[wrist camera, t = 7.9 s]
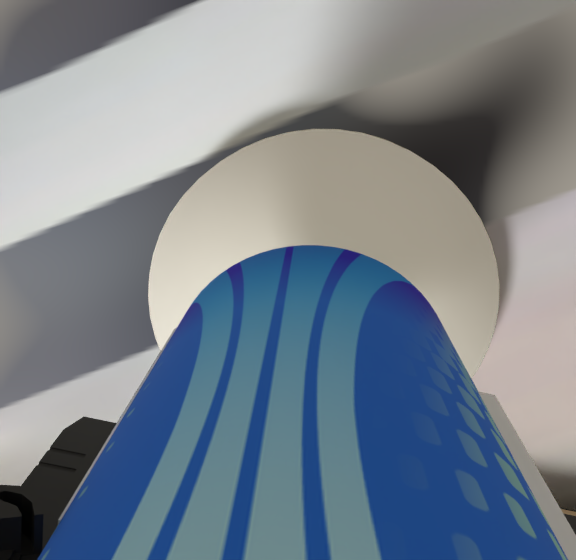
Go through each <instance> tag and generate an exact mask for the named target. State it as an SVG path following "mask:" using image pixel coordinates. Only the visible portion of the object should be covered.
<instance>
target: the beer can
mask: <svg viewBox="0 0 576 560" xmlns="http://www.w3.org/2000/svg"><path fill="white" fill-rule="evenodd" d="M37 560H568V559H567V557H566V555H565V553H564V551H563V549H562V547H561V545H560V544H559V542H558V540H557V538H556V536H555V534H554V532H553V531H552V529H551V527H550V525H549V523H548V521H547V519H546V517H545V516H544V514H543V512H542V510H541V508H540V506H539V504H538V503H537V501H536V499H535V497H534V495H533V493H532V491H531V489H530V488H529V486H528V484H527V482H526V480H525V478H524V476H523V474H522V473H521V471H520V469H519V467H518V465H517V463H516V461H515V460H514V458H513V456H512V454H511V452H510V450H509V448H508V446H507V445H506V443H505V441H504V439H503V437H502V435H501V433H500V432H499V430H498V428H497V426H496V424H495V422H494V420H493V418H492V417H491V415H490V413H489V411H488V409H487V407H486V405H485V403H484V402H483V400H482V398H481V396H480V394H479V392H478V390H477V389H476V387H475V385H474V383H473V381H472V379H471V377H470V375H469V374H468V372H467V370H466V368H465V366H464V364H463V362H462V361H461V359H460V357H459V355H458V353H457V351H456V349H455V347H454V346H453V344H452V342H451V340H450V338H449V336H448V334H447V332H446V331H445V329H444V327H443V325H442V323H441V321H440V319H439V318H438V316H437V314H436V312H435V311H434V309H433V308H432V306H431V305H430V303H429V302H428V301H427V299H426V298H425V297H424V296H423V294H422V293H421V292H420V291H419V290H418V289H417V288H416V287H415V286H414V285H413V284H412V283H411V282H410V281H408V280H407V279H406V278H405V277H403V276H402V275H401V274H400V273H398V272H397V271H395V270H393V269H392V268H390V267H389V266H387V265H385V264H383V263H382V262H380V261H378V260H376V259H374V258H371V257H369V256H366V255H364V254H361V253H358V252H354V251H351V250H348V249H343V248H338V247H332V246H322V245H297V246H287V247H282V248H276V249H272V250H268V251H265V252H262V253H258V254H256V255H254V256H251V257H249V258H246V259H244V260H242V261H240V262H238V263H236V264H235V265H233V266H231V267H230V268H228V269H227V270H225V271H224V272H222V273H221V274H219V275H218V276H217V277H216V278H215V279H213V280H212V281H211V282H210V283H209V284H208V285H207V286H206V287H205V288H204V289H203V290H202V291H201V292H200V293H199V295H198V296H197V297H196V298H195V300H194V301H193V302H192V304H191V306H190V307H189V309H188V310H187V312H186V314H185V315H184V317H183V319H182V320H181V322H180V323H179V325H178V327H177V328H176V330H175V332H174V333H173V335H172V337H171V338H170V340H169V342H168V343H167V345H166V347H165V348H164V350H163V352H162V353H161V355H160V357H159V358H158V360H157V362H156V363H155V365H154V367H153V368H152V370H151V372H150V373H149V375H148V377H147V378H146V380H145V382H144V383H143V385H142V386H141V388H140V390H139V391H138V393H137V395H136V396H135V398H134V400H133V401H132V403H131V405H130V406H129V408H128V410H127V411H126V413H125V415H124V416H123V418H122V420H121V421H120V423H119V425H118V426H117V428H116V430H115V431H114V433H113V435H112V436H111V438H110V440H109V441H108V443H107V445H106V446H105V448H104V449H103V451H102V453H101V454H100V456H99V458H98V459H97V461H96V463H95V464H94V466H93V468H92V469H91V471H90V473H89V474H88V476H87V478H86V479H85V481H84V483H83V484H82V486H81V488H80V489H79V491H78V493H77V494H76V496H75V498H74V499H73V501H72V503H71V504H70V506H69V507H68V509H67V511H66V512H65V514H64V516H63V517H62V519H61V521H60V522H59V524H58V526H57V527H56V529H55V531H54V532H53V534H52V536H51V537H50V539H49V541H48V542H47V544H46V546H45V547H44V549H43V551H42V552H41V554H40V556H39V557H38V559H37Z"/></svg>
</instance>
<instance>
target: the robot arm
mask: <svg viewBox="0 0 576 560" xmlns="http://www.w3.org/2000/svg"><path fill="white" fill-rule="evenodd" d="M175 330H176V328H174V330H173V332H172V333H171V335H170V337H169V338H168V340H167V342H166V343H165V345H164V346H163V348H162V350H161V351H160V353H159V355H158V356H157V358H156V360H155V361H154V363H153V365H152V366H151V368H150V369H149V371H148V373H147V374H146V376H145V378H144V379H143V381H142V383H141V384H140V386H139V388H138V389H137V391H136V393H135V394H134V396H133V397H132V399H131V401H130V402H129V404H128V406H127V407H126V409H125V411H124V412H123V414H122V416H121V417H120V419H119V420H118V422H117V423H112V422H108V421H103V420H98V419H93V418H88V417H83V418H81V419H80V420H78V421H76V422H75V423H73V424H72V425H70V426H69V427H67V428H65V429H64V430H63V431H62V432H61V434H60V435H59V436H58V438H57V439H56V440H55V442H54V443H53V444H52V446H51V447H50V450H49V451H47V452H46V454H45V455H44V456H43V458H42V459H41V460H40V462H39V465H38V466H36V467H35V468H34V470H33V471H32V472H31V474H30V475H29V476H28V477H27V479H26V480H25V481H24V483H23V484H22V485H21V486H11V485H0V560H37V559H38V557H39V556H40V554H41V552H42V551H43V549H44V547H45V546H46V544H47V542H48V541H49V539H50V537H51V536H52V534H53V532H54V531H55V529H56V527H57V526H58V524H59V522H60V521H61V519H62V517H63V516H64V514H65V512H66V511H67V509H68V507H69V506H70V504H71V503H72V501H73V499H74V498H75V496H76V494H77V493H78V491H79V489H80V488H81V486H82V484H83V483H84V481H85V479H86V478H87V476H88V474H89V473H90V471H91V469H92V468H93V466H94V464H95V463H96V461H97V459H98V458H99V456H100V454H101V453H102V451H103V449H104V448H105V446H106V445H107V443H108V441H109V440H110V438H111V436H112V435H113V433H114V431H115V430H116V428H117V426H118V425H119V423H120V421H121V420H122V418H123V416H124V415H125V413H126V411H127V410H128V408H129V406H130V405H131V403H132V401H133V400H134V398H135V396H136V395H137V393H138V391H139V390H140V388H141V386H142V385H143V383H144V382H145V380H146V378H147V377H148V375H149V373H150V372H151V370H152V368H153V367H154V365H155V363H156V362H157V360H158V358H159V357H160V355H161V353H162V352H163V350H164V348H165V347H166V345H167V343H168V342H169V340H170V338H171V337H172V335H173V333H174V332H175ZM479 394H480V396H481V398H482V400H483V402H484V403H485V405H486V407H487V409H488V411H489V413H490V415H491V417H492V418H493V420H494V422H495V424H496V426H497V428H498V430H499V432H500V433H501V435H502V437H503V439H504V441H505V443H506V445H507V446H508V448H509V450H510V452H511V454H512V456H513V458H514V460H515V461H516V463H517V465H518V467H519V469H520V471H521V473H522V474H523V476H524V478H525V480H526V482H527V484H528V486H529V488H530V489H531V491H532V493H533V495H534V497H535V499H536V501H537V503H538V504H539V506H540V508H541V510H542V512H543V514H544V516H545V517H546V519H547V521H548V523H549V525H550V527H551V529H552V531H553V532H554V534H555V536H556V538H557V540H558V542H559V544H560V545H561V547H562V549H563V551H564V553H565V555H566V557H567V559H568V560H576V516H573V515H568V514H563V512H562V510H561V509H560V507H559V505H558V504H557V502H556V500H555V498H554V497H553V495H552V493H551V491H550V490H549V488H548V486H547V485H546V483H545V481H544V479H543V478H542V476H541V474H540V472H539V471H538V469H537V467H536V466H535V464H534V462H533V460H532V459H531V457H530V455H529V453H528V452H527V450H526V448H525V447H524V445H523V443H522V441H521V440H520V438H519V436H518V434H517V433H516V431H515V429H514V428H513V426H512V424H511V422H510V421H509V419H508V417H507V415H506V414H505V412H504V410H503V409H502V407H501V405H500V403H499V402H498V400H497V398H496V396H495V395H492V394H487V393H483V392H479Z"/></svg>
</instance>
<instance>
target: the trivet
mask: <svg viewBox="0 0 576 560" xmlns="http://www.w3.org/2000/svg"><path fill="white" fill-rule="evenodd" d="M297 245H322V246H332V247H338V248H343V249H348V250H351V251H354V252H358V253H361V254H364V255H366V256H369V257H371V258H374V259H376V260H378V261H380V262H382V263H383V264H385V265H387V266H389V267H390V268H392V269H393V270H395V271H397V272H398V273H400V274H401V275H402V276H403V277H405V278H406V279H407V280H408V281H410V282H411V283H412V284H413V285H414V286H415V287H416V288H417V289H418V290H419V291H420V292H421V293H422V294H423V296H424V297H425V298H426V299H427V301H428V302H429V303H430V305H431V306H432V308H433V309H434V311H435V312H436V314H437V316H438V318H439V319H440V321H441V323H442V325H443V327H444V329H445V331H446V332H447V334H448V336H449V338H450V340H451V342H452V344H453V346H454V347H455V349H456V351H457V353H458V355H459V357H460V359H461V361H462V362H463V364H464V366H465V368H466V370H467V372H468V374H469V375H470V377H471V379H472V377H473V376H474V374H475V373H476V371H477V370H478V368H479V367H480V365H481V363H482V361H483V359H484V357H485V354H486V352H487V350H488V348H489V346H490V342H491V339H492V336H493V333H494V330H495V326H496V320H497V315H498V309H499V277H498V269H497V262H496V258H495V254H494V251H493V247H492V244H491V240H490V238H489V236H488V234H487V231H486V229H485V227H484V225H483V223H482V220H481V219H480V217H479V215H478V214H477V212H476V211H475V209H474V208H473V206H472V205H471V203H470V202H469V200H468V199H467V198H466V196H465V195H464V194H463V193H462V192H461V191H460V190H459V189H458V187H457V186H456V185H455V184H454V183H453V182H452V181H451V180H450V179H449V178H448V177H446V176H445V175H444V174H443V173H442V172H441V171H439V170H438V169H437V168H436V167H435V166H433V165H432V164H430V163H429V162H427V161H425V160H424V159H422V158H421V157H419V156H418V155H416V154H414V153H413V152H411V151H410V150H408V149H405V148H404V147H401V146H399V145H397V144H395V143H392V142H390V141H388V140H386V139H383V138H379V137H375V136H372V135H369V134H365V133H361V132H355V131H348V130H341V129H307V130H299V131H292V132H287V133H283V134H279V135H275V136H271V137H268V138H264V139H262V140H260V141H258V142H255V143H253V144H250V145H248V146H246V147H243V148H242V149H240V150H238V151H237V152H235V153H233V154H231V155H230V156H228V157H226V158H225V159H223V160H222V161H220V162H219V163H217V164H216V165H215V166H214V167H212V168H211V169H210V170H209V171H208V172H206V173H205V174H204V175H203V176H201V177H200V178H199V179H198V180H197V181H196V182H195V183H194V184H193V185H192V186H191V187H190V189H189V190H188V191H187V192H186V193H185V194H184V195H183V196H182V198H181V199H180V201H179V202H178V203H177V205H176V207H175V208H174V209H173V211H172V212H171V213H170V215H169V217H168V219H167V221H166V223H165V225H164V227H163V229H162V231H161V233H160V235H159V238H158V241H157V244H156V247H155V250H154V253H153V257H152V263H151V268H150V273H149V291H148V299H149V309H150V317H151V322H152V326H153V330H154V334H155V338H156V340H157V343H158V346H159V348H160V351H161V350H162V348H163V346H164V345H165V343H166V342H167V340H168V338H169V337H170V335H171V333H172V332H173V330H174V328H177V327H178V325H179V323H180V322H181V320H182V319H183V317H184V315H185V314H186V312H187V310H188V309H189V307H190V306H191V304H192V302H193V301H194V300H195V298H196V297H197V296H198V295H199V293H200V292H201V291H202V290H203V289H204V288H205V287H206V286H207V285H208V284H209V283H210V282H211V281H212V280H213V279H215V278H216V277H217V276H218V275H219V274H221V273H222V272H224V271H225V270H227V269H228V268H230V267H231V266H233V265H235V264H236V263H238V262H240V261H242V260H244V259H246V258H249V257H251V256H254V255H256V254H258V253H262V252H265V251H268V250H272V249H276V248H282V247H287V246H297Z"/></svg>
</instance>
